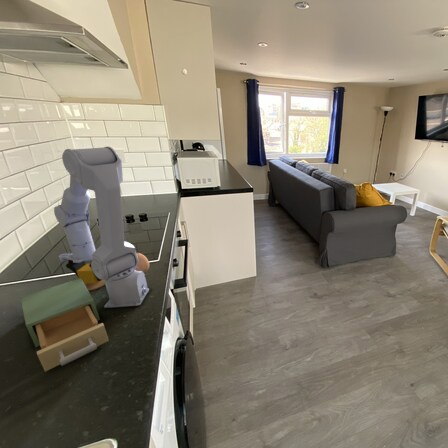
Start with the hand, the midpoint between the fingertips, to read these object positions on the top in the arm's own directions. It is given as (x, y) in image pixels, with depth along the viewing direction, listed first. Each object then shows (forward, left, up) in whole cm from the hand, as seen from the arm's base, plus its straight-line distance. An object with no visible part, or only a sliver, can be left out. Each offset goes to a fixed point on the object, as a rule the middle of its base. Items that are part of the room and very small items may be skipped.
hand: (92, 279), depth 85 cm
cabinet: (-1, +17, -1) cm, 17 cm away
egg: (-13, -3, -2) cm, 13 cm away
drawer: (-10, +28, 0) cm, 29 cm away
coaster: (0, 0, -1) cm, 1 cm away
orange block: (0, 0, 0) cm, 0 cm away
